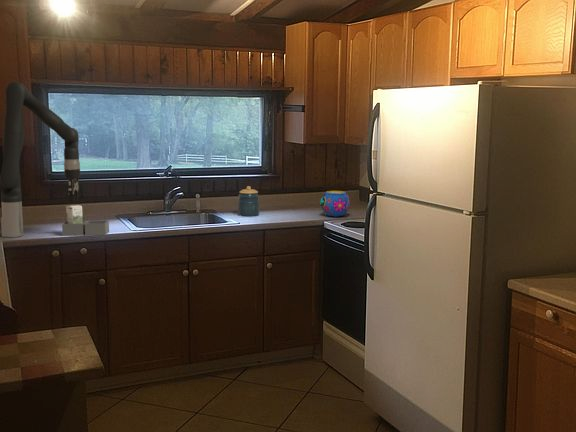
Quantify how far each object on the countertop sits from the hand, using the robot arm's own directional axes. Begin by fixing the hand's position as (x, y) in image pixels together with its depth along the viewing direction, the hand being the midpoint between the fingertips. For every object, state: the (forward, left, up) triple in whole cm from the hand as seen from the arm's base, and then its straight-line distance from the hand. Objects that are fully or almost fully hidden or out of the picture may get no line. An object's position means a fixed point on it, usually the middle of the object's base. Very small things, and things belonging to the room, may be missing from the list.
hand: (73, 200), depth 327 cm
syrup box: (0, 0, -17) cm, 17 cm away
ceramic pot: (+142, +51, -17) cm, 152 cm away
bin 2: (+11, 0, -17) cm, 20 cm away
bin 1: (0, 0, -17) cm, 17 cm away
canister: (+90, +58, -17) cm, 108 cm away
